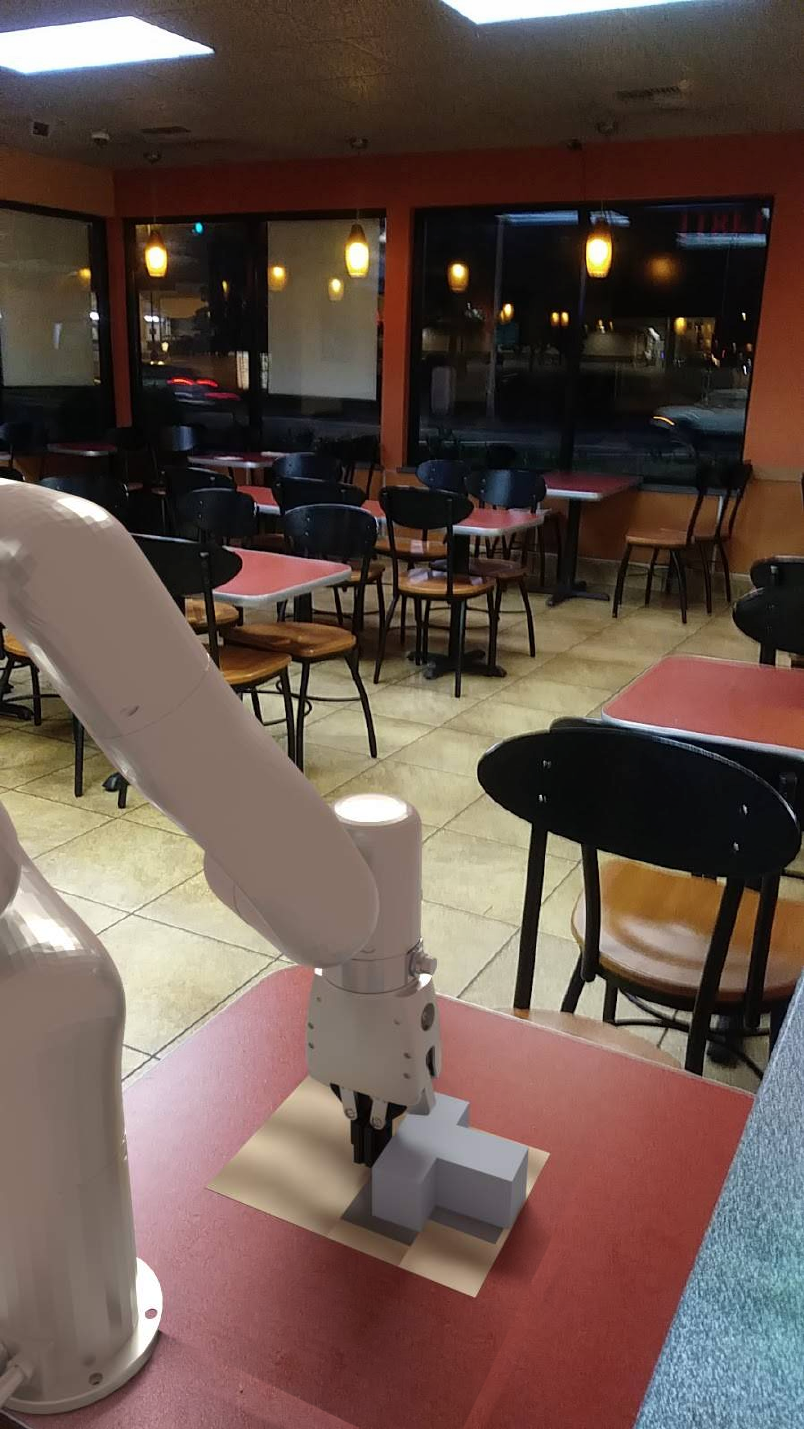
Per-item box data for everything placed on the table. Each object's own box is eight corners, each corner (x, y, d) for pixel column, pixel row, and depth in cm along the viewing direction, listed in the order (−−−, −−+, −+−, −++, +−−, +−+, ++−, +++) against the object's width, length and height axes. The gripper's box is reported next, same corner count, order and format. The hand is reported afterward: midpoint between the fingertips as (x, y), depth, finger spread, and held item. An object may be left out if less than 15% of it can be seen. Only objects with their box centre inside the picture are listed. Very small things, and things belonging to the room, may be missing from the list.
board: (474, 1310, 75) (475, 1297, 75) (205, 1199, 85) (205, 1187, 84) (549, 1165, 88) (550, 1153, 88) (310, 1083, 98) (310, 1072, 98)
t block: (496, 1259, 78) (498, 1209, 76) (372, 1215, 82) (372, 1167, 80) (537, 1169, 86) (540, 1123, 85) (423, 1133, 90) (424, 1088, 89)
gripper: (481, 955, 81) (475, 1154, 86) (310, 911, 87) (315, 1100, 93) (441, 1007, 74) (436, 1218, 80) (259, 955, 80) (267, 1155, 86)
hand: (371, 1154), depth 86 cm, fingers closed
